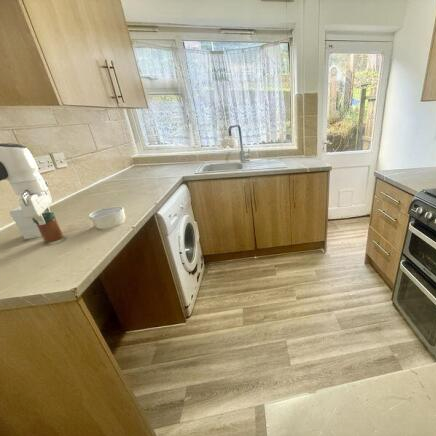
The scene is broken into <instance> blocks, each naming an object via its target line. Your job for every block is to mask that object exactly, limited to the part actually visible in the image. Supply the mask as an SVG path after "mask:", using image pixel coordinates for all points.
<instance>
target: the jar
mask: <svg viewBox="0 0 436 436" xmlns="http://www.w3.org/2000/svg"><path fill="white" fill-rule="evenodd" d="M36 225H37V227H38V229H39V231H40V233H41V235H42V236H41V237H42V239H43V241H44V243H53V242H57V241H60V240H62V239H63V238H65V236H64V234H63V232H62V229H61V227H60V224H59V222H58V220H57V217H55V219H53V220H50V221H47V222H46V223H45V224H44V225H39V223H36Z"/></svg>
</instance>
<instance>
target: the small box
mask: <svg viewBox="0 0 436 436" xmlns="http://www.w3.org/2000/svg"><path fill="white" fill-rule="evenodd" d="M9 215H10V216H11V218H12V220H13V221H14V223H15V225H16V226H17V228H18V229H19V231H20V233H21V235H22V237H23V238H24V240H28V239H33V238H40V237H42V235H41V233H40V231H39V229H38V227H37V225H36V223H34V222H33V220H32V218H26V217H25V215H24V213H23V211H22V209H21V206H20V205H19V206H17V207H15V208H13V209H12V210H10V211H9Z"/></svg>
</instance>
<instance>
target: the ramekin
mask: <svg viewBox="0 0 436 436" xmlns="http://www.w3.org/2000/svg"><path fill="white" fill-rule="evenodd" d="M88 217H89V219H90V221H91V222H92V223H93V225H94V226H95V228H96V229H99V230H100V229H101V230H102V229H103V230H104V229H111V228H114V227H117V226H120V225H122V224H123V223H125V222H126V221H127V220H126V214H125V208H124V207H123V206H119V205H117V206H108V207H104V208H99V209H97V210H94V211H92V212H91V213H89V214H88Z"/></svg>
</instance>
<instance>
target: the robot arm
mask: <svg viewBox="0 0 436 436" xmlns="http://www.w3.org/2000/svg"><path fill="white" fill-rule="evenodd" d="M2 181H7V182H9V184H10V186H11V188H12V191H13V192H14V194H15V195H16V196H20V197H19V199H18V203H19V206H21V209H22V211H23V213H24V215H25V217H26V218H34V219H36V220H37V221H38V223H39V225H44V224H45V223H46V221H45V219H43V217H42V213H48V212H51V210H50V205H51V204H52V203H53V198H52V194H51V192H50V189H49V182H48V181H47V180H45V179H44V178H43V176H42V175H41V174H40V172H39V167H38V164H37V162H36V159H35V158H34V156H33V154H32V153H31V151H30V150H29V149H28V147H27V146H24V145H22V144H19V143H0V182H2Z"/></svg>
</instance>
